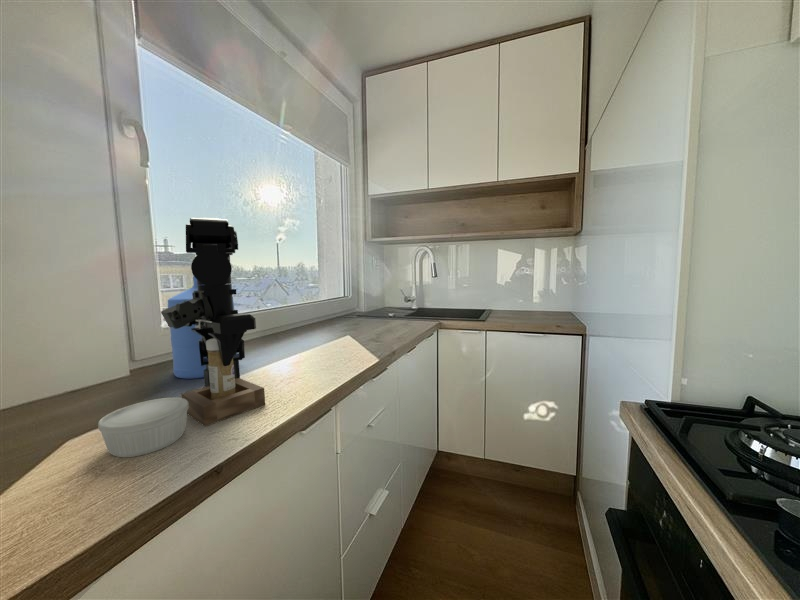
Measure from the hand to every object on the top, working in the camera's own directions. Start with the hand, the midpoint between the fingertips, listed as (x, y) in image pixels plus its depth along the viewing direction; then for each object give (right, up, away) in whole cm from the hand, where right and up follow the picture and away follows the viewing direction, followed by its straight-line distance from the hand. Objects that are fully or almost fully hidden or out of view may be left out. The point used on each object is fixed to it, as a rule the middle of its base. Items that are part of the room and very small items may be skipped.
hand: (221, 363), depth 61 cm
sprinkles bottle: (0, -9, +1) cm, 9 cm away
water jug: (-19, -8, +27) cm, 34 cm away
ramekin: (-5, -10, -11) cm, 16 cm away
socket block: (0, -9, +1) cm, 9 cm away
